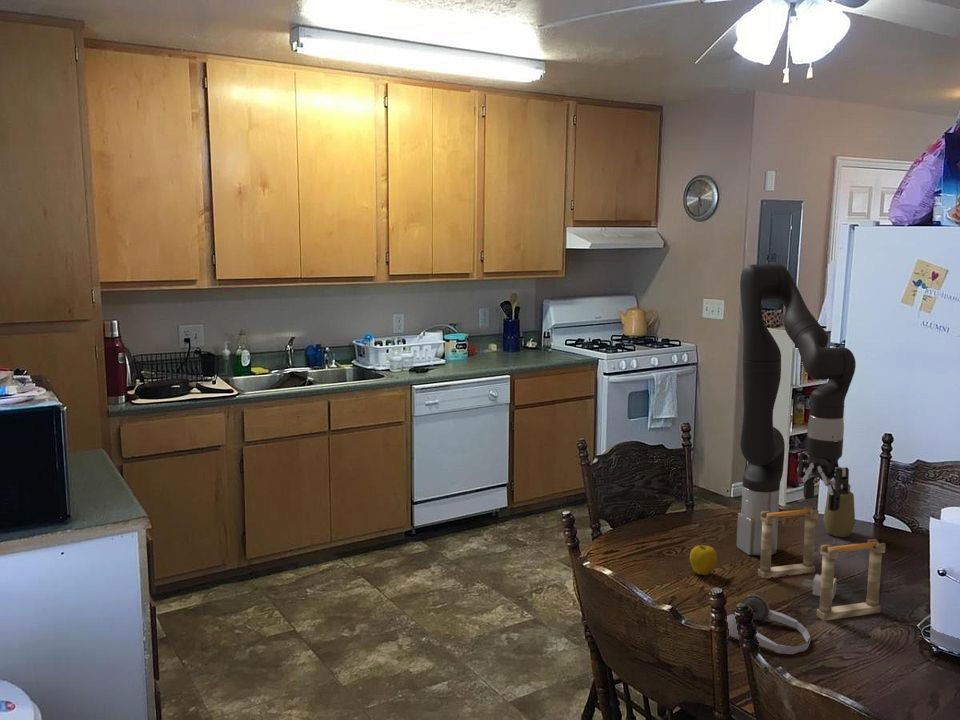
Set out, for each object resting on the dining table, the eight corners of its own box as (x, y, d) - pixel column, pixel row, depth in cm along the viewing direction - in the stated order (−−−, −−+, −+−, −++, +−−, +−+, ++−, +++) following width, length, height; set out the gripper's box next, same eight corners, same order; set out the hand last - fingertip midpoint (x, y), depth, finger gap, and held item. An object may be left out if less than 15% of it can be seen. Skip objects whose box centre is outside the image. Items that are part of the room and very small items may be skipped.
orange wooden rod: (769, 519, 189) (769, 514, 189) (766, 517, 190) (766, 512, 190) (814, 514, 192) (814, 509, 192) (811, 512, 193) (811, 507, 193)
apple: (684, 574, 193) (685, 543, 192) (697, 566, 198) (698, 536, 197) (708, 582, 189) (709, 550, 188) (720, 573, 193) (722, 543, 192)
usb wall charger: (832, 600, 179) (833, 583, 178) (800, 593, 183) (801, 577, 182) (835, 593, 182) (836, 577, 182) (803, 586, 186) (804, 570, 185)
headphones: (698, 627, 165) (793, 673, 153) (703, 603, 164) (800, 648, 152) (729, 598, 178) (819, 638, 167) (734, 575, 177) (826, 614, 165)
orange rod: (830, 553, 168) (831, 548, 168) (827, 551, 169) (827, 546, 169) (880, 547, 171) (880, 542, 171) (876, 545, 172) (876, 540, 172)
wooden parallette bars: (824, 621, 169) (829, 550, 167) (757, 574, 193) (759, 511, 191) (881, 613, 173) (886, 543, 170) (807, 567, 196) (811, 506, 194)
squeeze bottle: (859, 539, 215) (863, 475, 212) (829, 539, 215) (833, 475, 212) (846, 528, 223) (850, 467, 220) (817, 528, 223) (821, 467, 220)
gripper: (790, 429, 183) (787, 495, 185) (832, 444, 169) (827, 516, 172) (818, 426, 185) (814, 493, 187) (861, 441, 171) (856, 513, 174)
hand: (820, 504), depth 180 cm, fingers open, 8 cm apart
